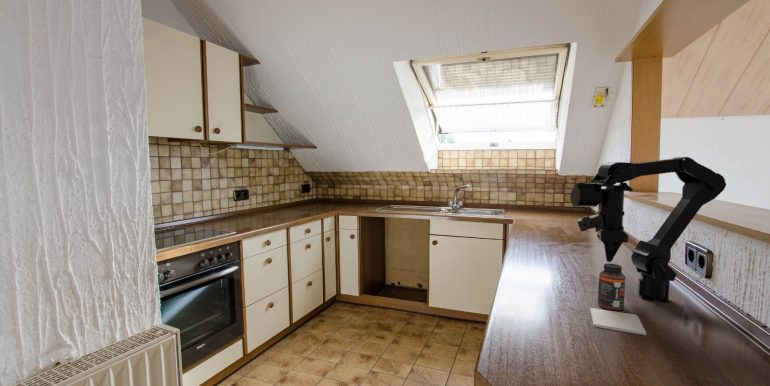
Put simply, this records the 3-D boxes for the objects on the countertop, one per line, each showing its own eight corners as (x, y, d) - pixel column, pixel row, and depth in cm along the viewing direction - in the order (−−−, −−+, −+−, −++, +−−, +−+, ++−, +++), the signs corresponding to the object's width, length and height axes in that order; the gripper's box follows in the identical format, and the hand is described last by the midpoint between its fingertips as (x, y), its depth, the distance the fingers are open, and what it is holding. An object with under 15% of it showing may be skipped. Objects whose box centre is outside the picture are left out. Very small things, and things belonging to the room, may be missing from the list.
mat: (636, 317, 91) (636, 314, 91) (645, 335, 81) (646, 332, 81) (590, 310, 95) (590, 307, 95) (593, 326, 85) (593, 323, 85)
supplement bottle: (624, 313, 94) (626, 269, 93) (597, 308, 97) (599, 265, 96) (623, 306, 99) (626, 264, 98) (597, 301, 102) (600, 261, 101)
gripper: (577, 203, 116) (575, 252, 117) (580, 208, 99) (578, 265, 100) (619, 204, 111) (616, 255, 112) (630, 210, 94) (627, 270, 95)
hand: (608, 261), depth 105 cm, fingers closed
